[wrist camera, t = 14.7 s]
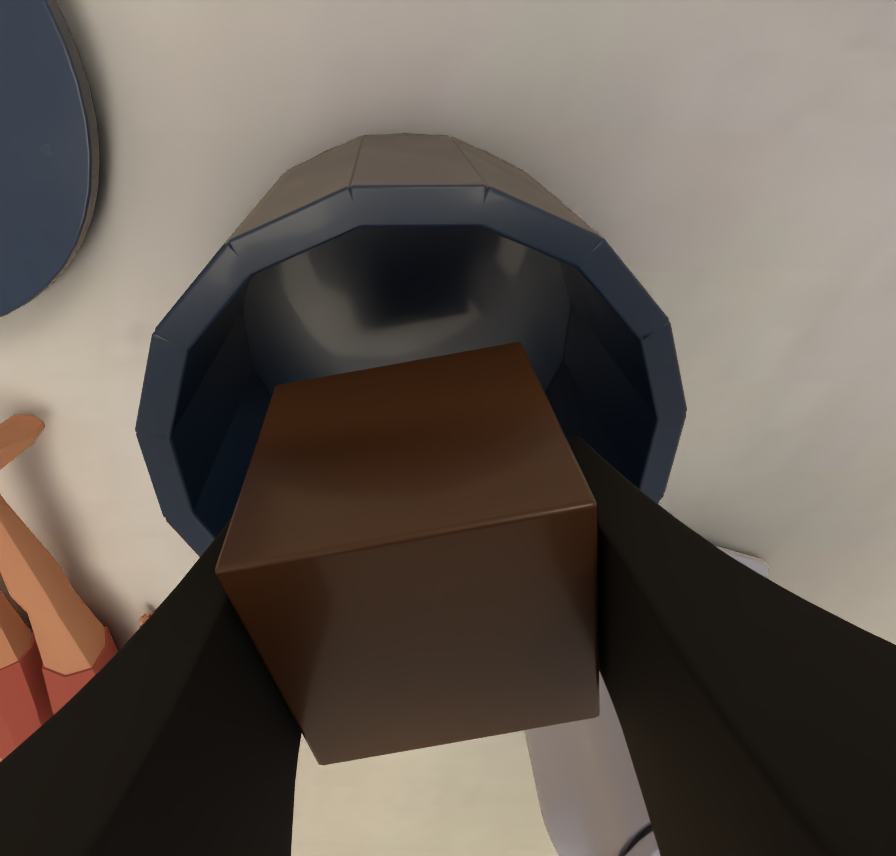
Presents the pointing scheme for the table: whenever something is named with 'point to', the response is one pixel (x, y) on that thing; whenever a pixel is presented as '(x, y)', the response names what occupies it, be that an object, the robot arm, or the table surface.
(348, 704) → the block
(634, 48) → the table surface
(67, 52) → the lid
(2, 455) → the character figure
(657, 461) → the cup
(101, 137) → the table surface
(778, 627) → the robot arm
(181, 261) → the table surface
